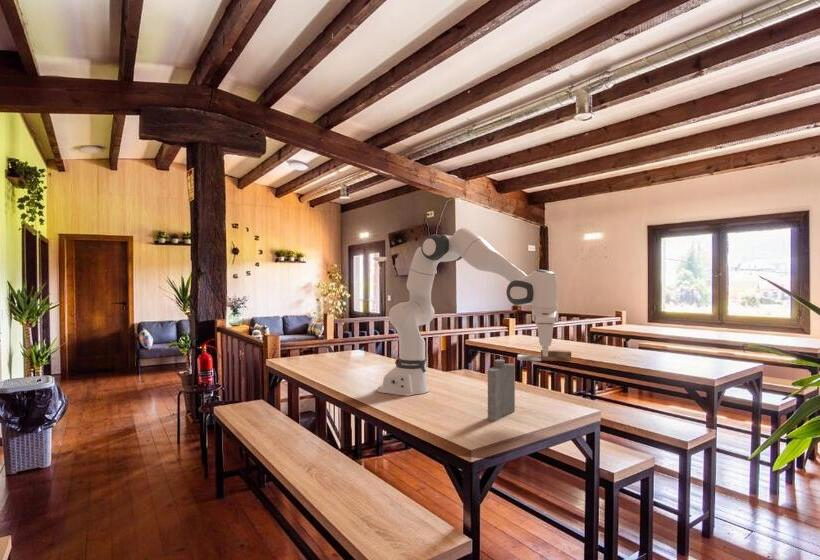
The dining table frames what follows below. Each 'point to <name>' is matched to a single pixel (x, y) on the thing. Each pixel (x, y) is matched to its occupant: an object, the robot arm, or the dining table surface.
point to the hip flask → (501, 390)
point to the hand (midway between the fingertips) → (545, 355)
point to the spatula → (552, 356)
